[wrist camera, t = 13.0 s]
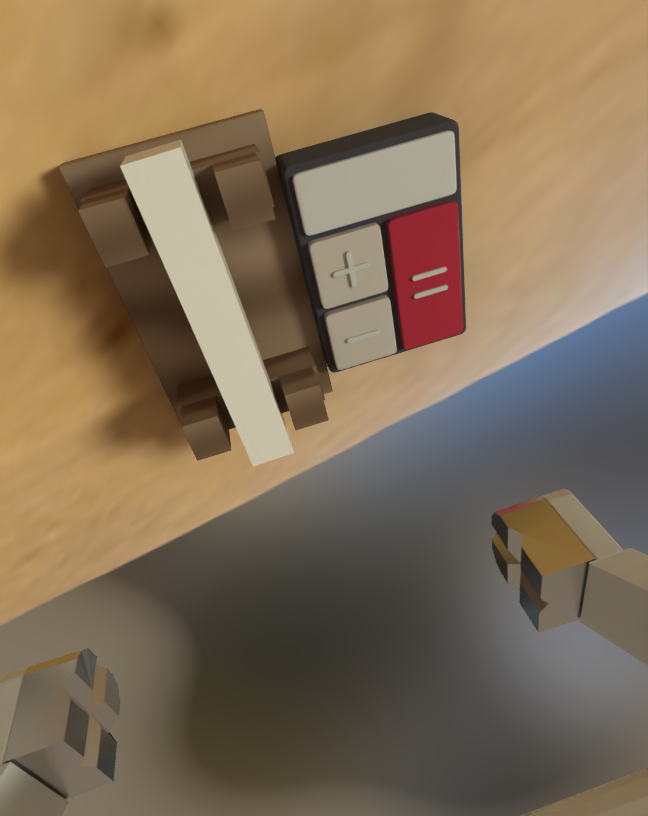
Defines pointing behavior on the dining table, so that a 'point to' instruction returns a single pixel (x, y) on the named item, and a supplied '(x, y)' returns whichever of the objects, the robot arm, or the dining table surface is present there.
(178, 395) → the rack
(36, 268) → the dining table surface
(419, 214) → the calculator
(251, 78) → the dining table surface
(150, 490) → the dining table surface
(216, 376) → the clay strip
